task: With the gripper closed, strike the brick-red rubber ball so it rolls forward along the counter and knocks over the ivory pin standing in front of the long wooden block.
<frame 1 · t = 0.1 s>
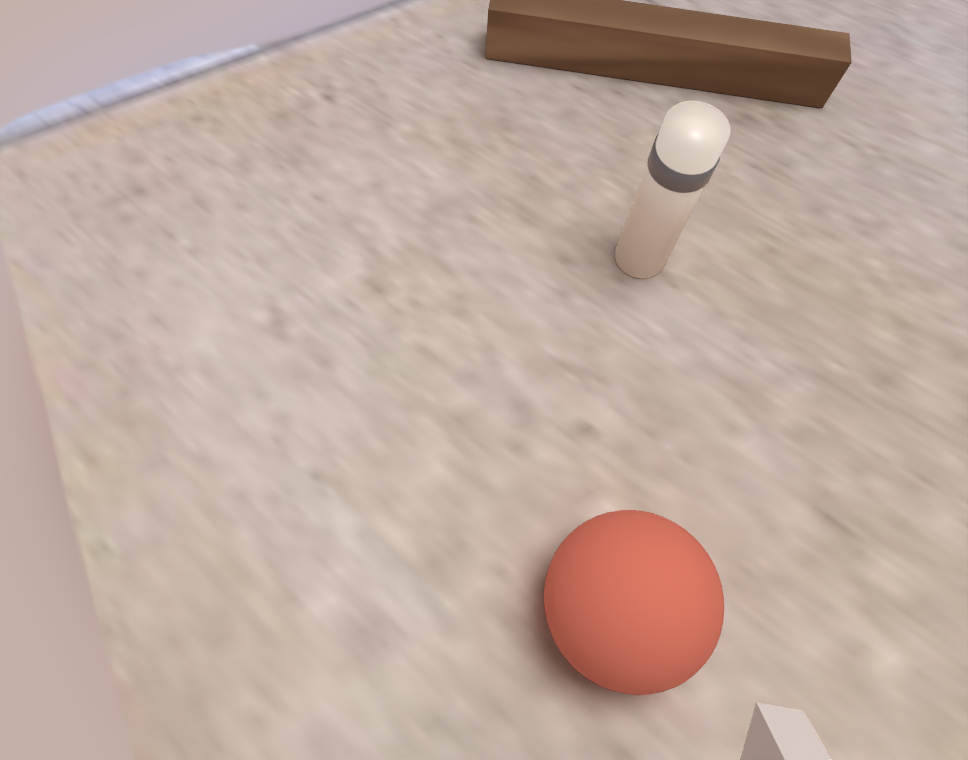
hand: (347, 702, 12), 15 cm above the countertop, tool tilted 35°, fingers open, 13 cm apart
pin: (640, 256, 34), on the countertop
long wooden block: (654, 69, 38), on the countertop
ball: (631, 599, 24), on the countertop
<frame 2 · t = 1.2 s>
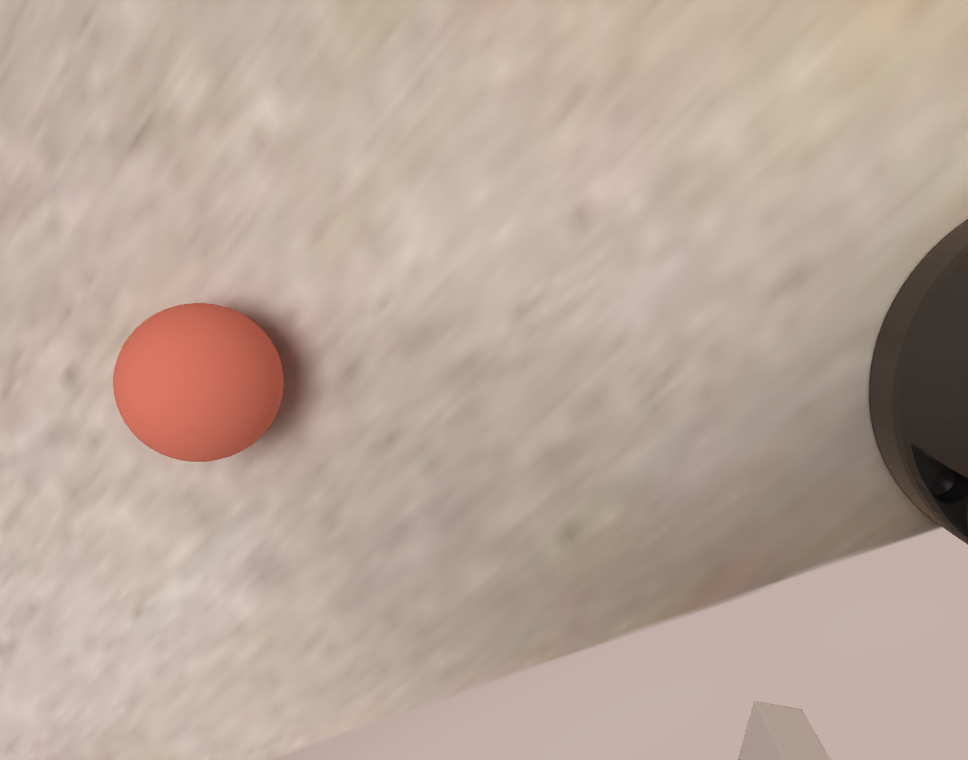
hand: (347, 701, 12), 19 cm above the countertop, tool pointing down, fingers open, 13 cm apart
ball: (202, 382, 27), on the countertop
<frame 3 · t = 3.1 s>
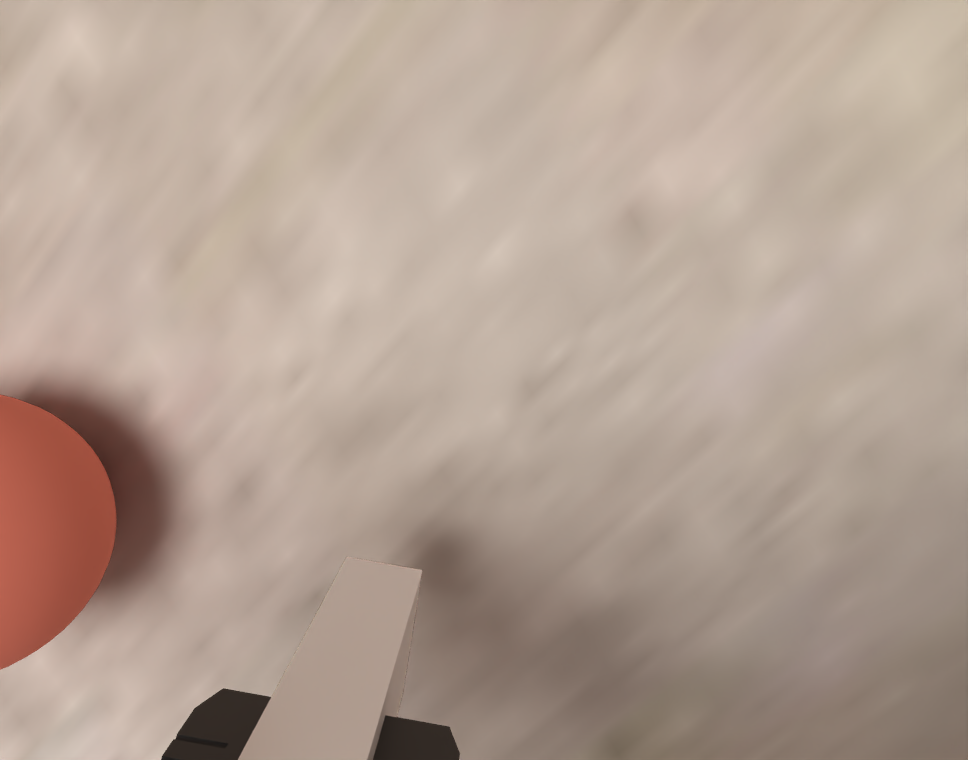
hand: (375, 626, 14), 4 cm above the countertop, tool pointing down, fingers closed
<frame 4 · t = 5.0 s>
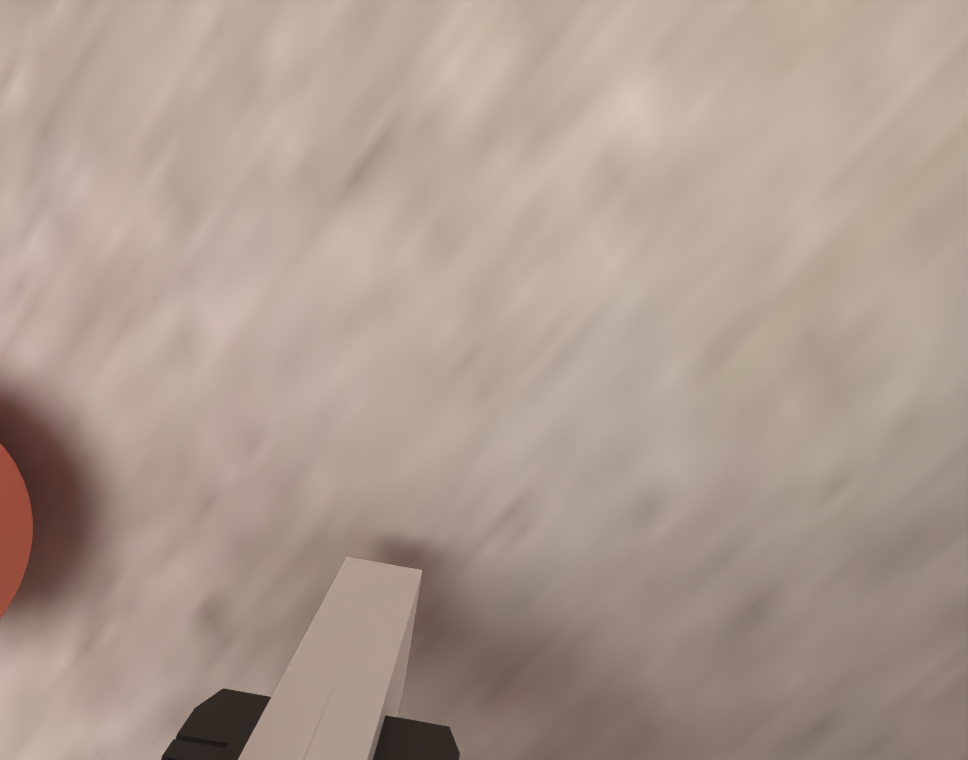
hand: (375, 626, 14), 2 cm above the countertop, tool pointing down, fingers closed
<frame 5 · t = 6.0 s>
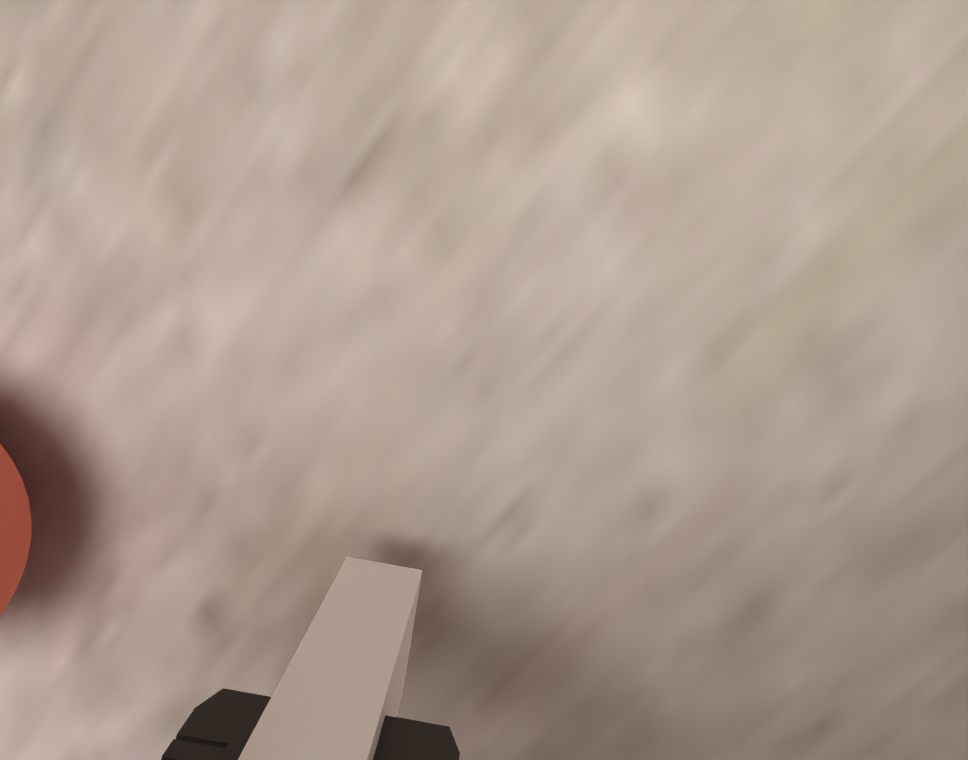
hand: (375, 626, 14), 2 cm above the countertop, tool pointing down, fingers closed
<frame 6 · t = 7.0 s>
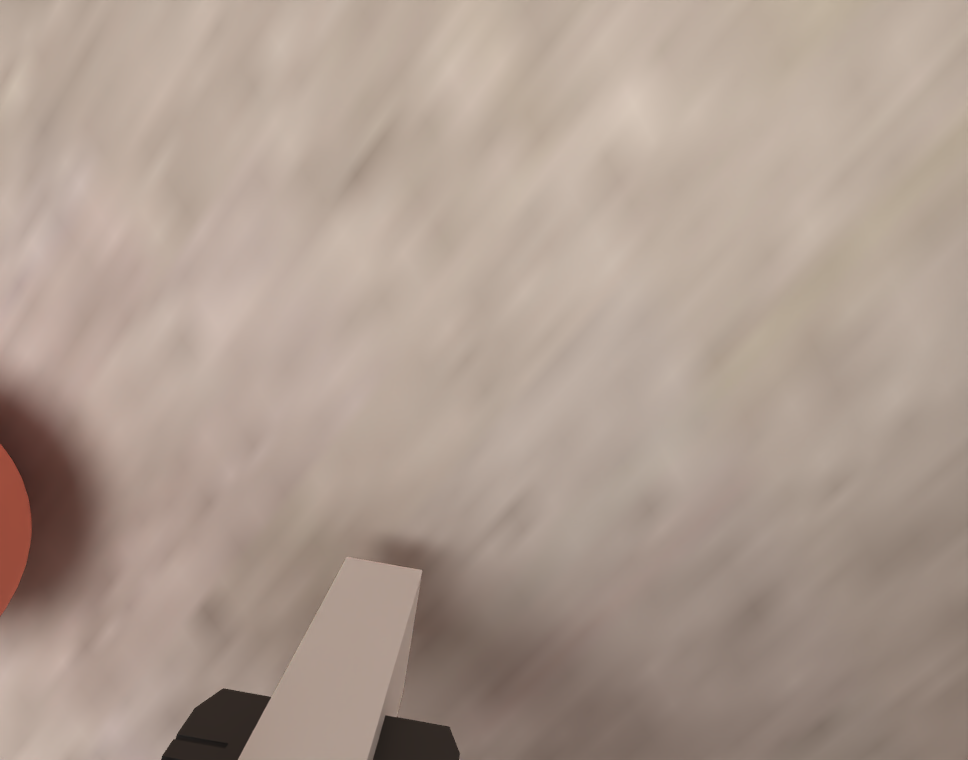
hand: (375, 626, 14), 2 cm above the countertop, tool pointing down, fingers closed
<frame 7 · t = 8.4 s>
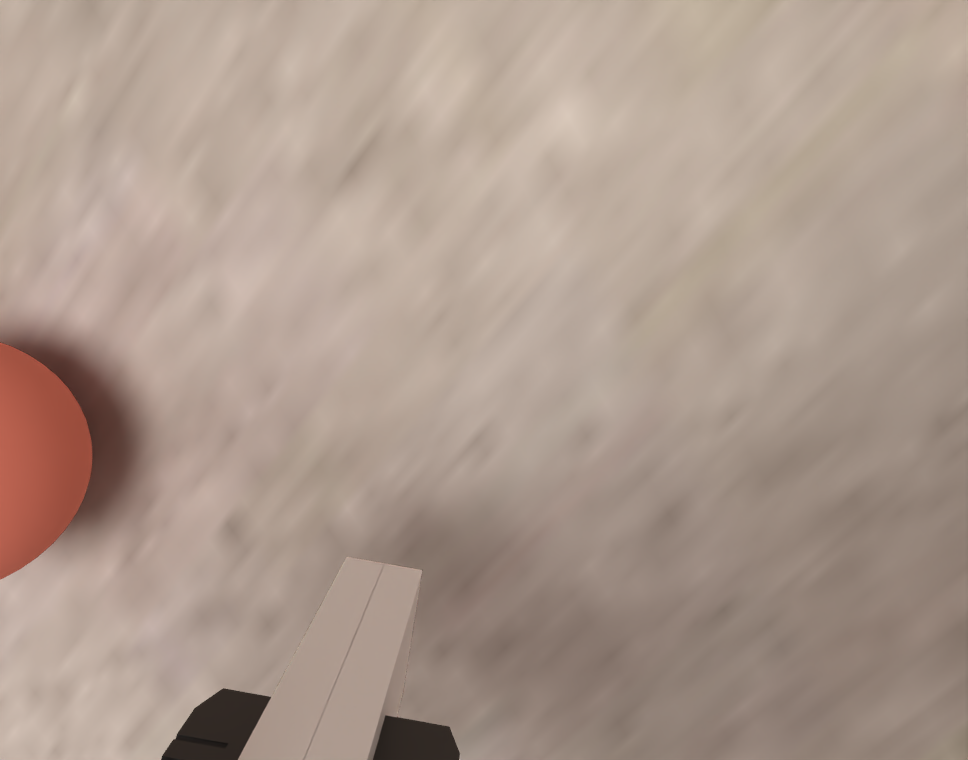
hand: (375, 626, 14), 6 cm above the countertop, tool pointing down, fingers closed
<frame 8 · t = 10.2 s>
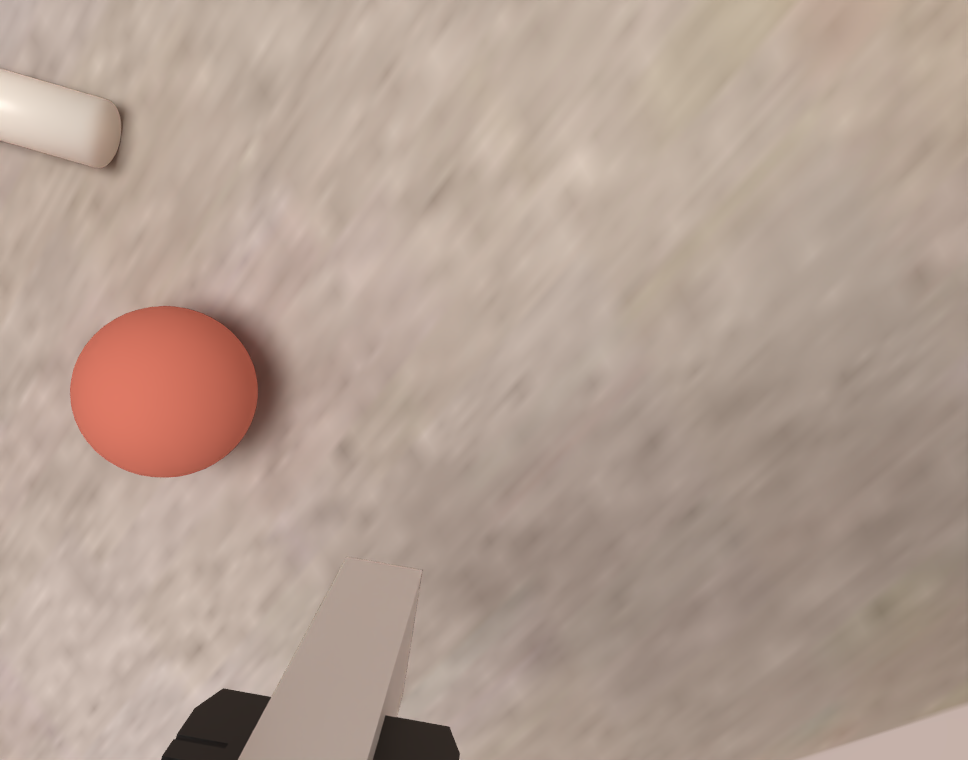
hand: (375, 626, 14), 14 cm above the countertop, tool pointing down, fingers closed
pin: (102, 134, 25), point 1 cm above the countertop, tilted 90°
ball: (168, 391, 25), on the countertop
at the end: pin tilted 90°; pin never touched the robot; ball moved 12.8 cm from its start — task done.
